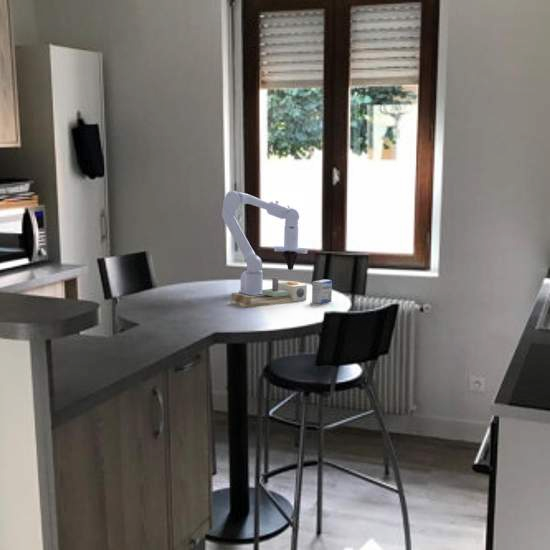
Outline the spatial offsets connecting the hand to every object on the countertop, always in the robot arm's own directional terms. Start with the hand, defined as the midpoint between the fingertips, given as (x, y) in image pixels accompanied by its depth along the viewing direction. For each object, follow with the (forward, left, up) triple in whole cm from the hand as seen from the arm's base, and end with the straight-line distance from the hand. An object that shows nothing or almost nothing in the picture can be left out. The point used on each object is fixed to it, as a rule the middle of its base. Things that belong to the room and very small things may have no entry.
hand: (290, 269), depth 312 cm
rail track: (+8, -21, -10) cm, 24 cm away
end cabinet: (+8, -6, -10) cm, 14 cm away
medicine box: (+20, 0, -11) cm, 23 cm away
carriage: (+8, -15, -8) cm, 18 cm away
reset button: (+8, -6, -10) cm, 14 cm away
